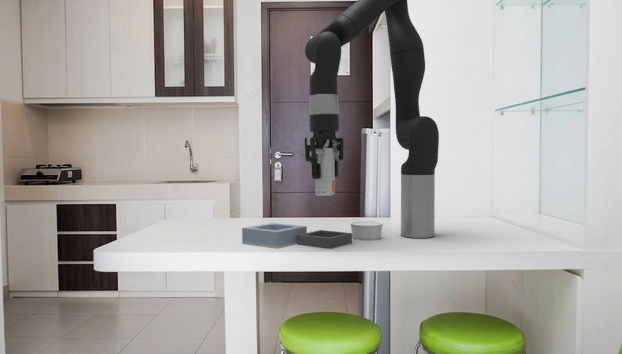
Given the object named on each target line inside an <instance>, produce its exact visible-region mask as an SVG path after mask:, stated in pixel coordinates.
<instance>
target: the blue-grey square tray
mask: <svg viewBox="0 0 622 354" xmlns="http://www.w3.org/2000/svg"><path fill="white" fill-rule="evenodd" d="M307 230H308V228H307V226H306V225H296V224H287V223H286V224H285V223H278V222H277V223H276V222H270V223H269V222H268V223H265V224H264V223H263V224H258V225H252V226H246V227H241V235H242V236H241V238H242V239H241V240H242V241H241V242H242V244H245V245H253V246H258V247H259V246H260V247H267V248H274V249H281V248H283V247H288V246H291V245H292V246H293V245H296V244H297V245H298V235H299V234H304V233H308V231H307Z"/></svg>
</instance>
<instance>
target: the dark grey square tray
mask: <svg viewBox="0 0 622 354" xmlns="http://www.w3.org/2000/svg"><path fill="white" fill-rule="evenodd" d="M352 243H353V237H352V232H342V231H335V230H334V231H332V230H323V229H319V230H313V231H310V232H307V233H304V234H299V235H298V244H297V245H298V246H307V247H312V248H313V247H315V248H316V247H317V248H321V249H333V248H339V247H341V246H345V245H349V244H352Z"/></svg>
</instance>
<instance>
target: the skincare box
mask: <svg viewBox="0 0 622 354" xmlns="http://www.w3.org/2000/svg"><path fill="white" fill-rule="evenodd" d="M316 151H321V149H316ZM317 157H318V155H316V158H317ZM320 164H321V178H320V179H314V180H315V181H314V182H315V183H314V185H315V196H317V197H318V196H319V197H320V196H322V197H325V196H327V197H328V196H333V195H335V194H336V177H335V158H334V151H333V148H325V155H324V156H323V157H322V159H321V162H320Z"/></svg>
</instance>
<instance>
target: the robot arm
mask: <svg viewBox="0 0 622 354" xmlns="http://www.w3.org/2000/svg"><path fill="white" fill-rule="evenodd" d="M383 13H384V15H385V20H386V27H387V35H388V36H387V37H388V45H389V56H390V57H389V58H390V65H391V67H390V68H391V72H392V81H393V93H394V101H395V102H394V103H395V135H396V140H397V143H398V144H399V146H400V147H402V148H403V149H405V150H406V151H408V155H407V159H406V160H405V161H404V162H403V163H402V164H401V167H400V236H402V237H406V238H413V239H414V238H415V239H425V238H433V237H435V212H436V211H435V203H436V202H435V191H436V190H435V188H436V186H435V184H436V183H435V180H436V179H435V178H436V176H435V173H436V172H435V171H436V167H437V165H438V160H439V145H440V143H439V142H440V132H439V127H438V125H437V123H436V121H435V120H434V119H433V118H432V117H430V116H424V115H423V116H421V115H420V114H421V113H420V104H419V103H420V101H419V99H420V98H419V97H420V92H421V88H422V84H423V81H424V78H425V72H426V57H425V50H424V44H423V41H422V38H421V36H420V34H419V33H418V31H417V29H416V28H415V25H414V24H413V22H412V21H411V18H410V14H409V4H408V0H355V2H354V3H352V4H351V5H350V6H349V7H347V8H346V9H345V10H343V11H342V13H340V14H339V15H338V16H337V17H336V18H335V19H334V20H332V22H331V23H330V24H328V25H327V26H325V27H324V28H322V29H321V30H320V31H318V32H317V33H316V34H315V35H313V36H312V37H311V38H309V40H308V41H306V44H305V49H304V53H305V56H306V59H307V60H308V61H309V62H311V63H312V64H314V70H313V72H312V73H311V75H310V77H309V104H308V105H309V107H308V110H309V114H308V115H309V117H308V118H309V132H310V133H312V136H306V137H305V138H304V153H305V155H304V156H305V157H304V159H305V162H309V163H310V164H311V178H312V179H314V180H315V179H320V178H321V164H320V162H321V159H322V157H323V156H324V155H325V148H333V151H334V158H335V178H338V177H339V163H340V161H344V138H343V137H337V135H336V133H338V132H339V131H340V109H339V104H340V103H339V97H338V74H339V70H340V64H341V59H342V58H341V57H342V47H343V46H345V45H346V44H349V43H350V42H351V41H353V40H355V39H356V38H357V37H358V36H359V35H360V34H361V33H362V32H364V31H365V30H366V29H367V28H368V27H369V26H371V24H372V23H373V22H374V21H375V20H377V19H378V17H380V16H381V15H382V14H383ZM316 149H321V151H316ZM310 154H311V155H310ZM316 155H318V157H317V158H316Z"/></svg>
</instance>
